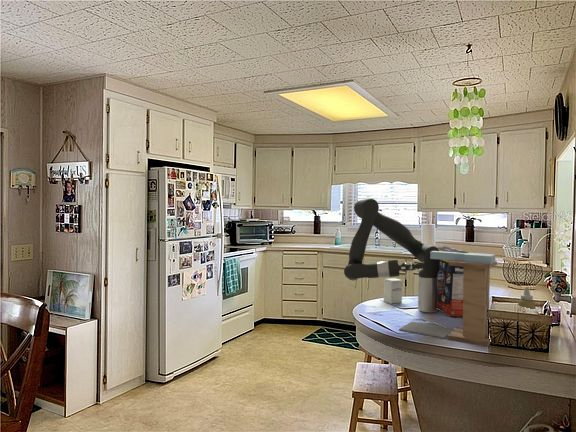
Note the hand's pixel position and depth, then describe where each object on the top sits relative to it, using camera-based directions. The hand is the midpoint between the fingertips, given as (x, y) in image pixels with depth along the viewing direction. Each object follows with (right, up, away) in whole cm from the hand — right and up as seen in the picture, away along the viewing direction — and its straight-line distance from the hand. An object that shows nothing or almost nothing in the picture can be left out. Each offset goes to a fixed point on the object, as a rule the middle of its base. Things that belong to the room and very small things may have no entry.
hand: (424, 265), depth 193 cm
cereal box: (+21, -26, +25) cm, 42 cm away
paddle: (+9, +4, -18) cm, 20 cm away
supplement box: (-3, -26, +45) cm, 52 cm away
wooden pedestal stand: (+13, -27, -20) cm, 36 cm away
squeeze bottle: (+43, -27, -5) cm, 51 cm away
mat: (-2, -27, -9) cm, 28 cm away
